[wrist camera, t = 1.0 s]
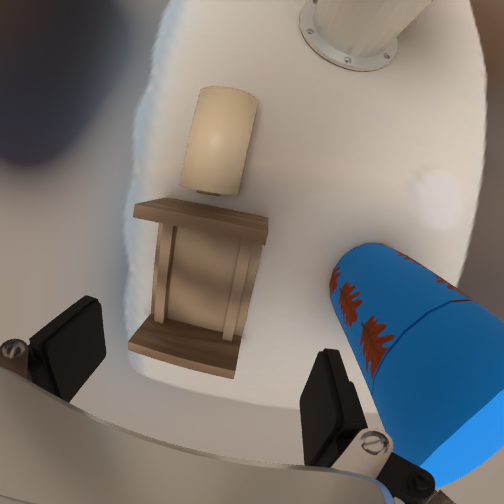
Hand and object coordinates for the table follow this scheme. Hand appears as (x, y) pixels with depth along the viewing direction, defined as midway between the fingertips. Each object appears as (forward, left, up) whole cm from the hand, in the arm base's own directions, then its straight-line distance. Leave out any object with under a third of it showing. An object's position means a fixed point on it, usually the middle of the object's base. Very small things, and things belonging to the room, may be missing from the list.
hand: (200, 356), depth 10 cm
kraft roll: (-10, -5, -22) cm, 24 cm away
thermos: (+2, +16, -22) cm, 27 cm away
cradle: (+5, -4, -22) cm, 22 cm away
